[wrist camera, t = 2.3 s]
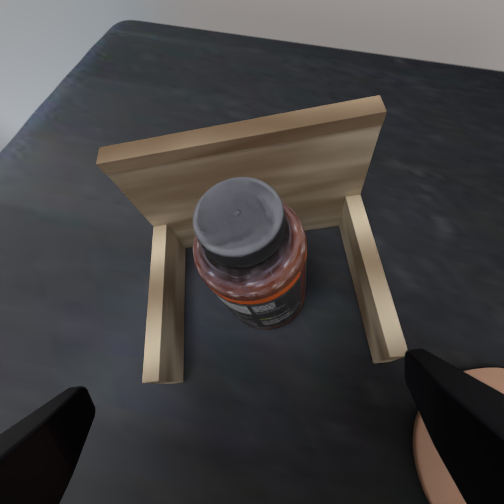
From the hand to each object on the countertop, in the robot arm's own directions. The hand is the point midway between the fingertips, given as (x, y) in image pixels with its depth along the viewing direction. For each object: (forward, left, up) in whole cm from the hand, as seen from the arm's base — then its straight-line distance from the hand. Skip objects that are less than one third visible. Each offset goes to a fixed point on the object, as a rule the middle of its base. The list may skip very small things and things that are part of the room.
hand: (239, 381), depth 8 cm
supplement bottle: (+5, +4, -13) cm, 15 cm away
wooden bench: (+5, +4, -13) cm, 14 cm away
